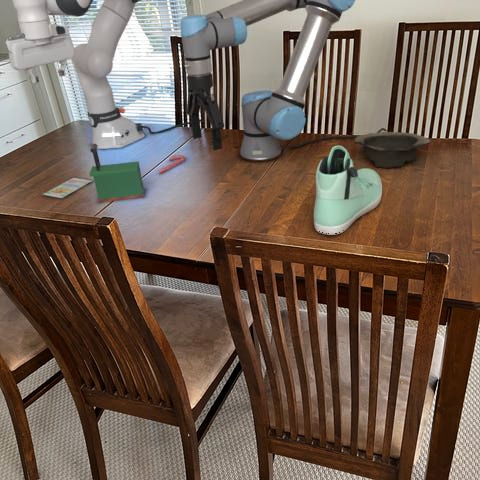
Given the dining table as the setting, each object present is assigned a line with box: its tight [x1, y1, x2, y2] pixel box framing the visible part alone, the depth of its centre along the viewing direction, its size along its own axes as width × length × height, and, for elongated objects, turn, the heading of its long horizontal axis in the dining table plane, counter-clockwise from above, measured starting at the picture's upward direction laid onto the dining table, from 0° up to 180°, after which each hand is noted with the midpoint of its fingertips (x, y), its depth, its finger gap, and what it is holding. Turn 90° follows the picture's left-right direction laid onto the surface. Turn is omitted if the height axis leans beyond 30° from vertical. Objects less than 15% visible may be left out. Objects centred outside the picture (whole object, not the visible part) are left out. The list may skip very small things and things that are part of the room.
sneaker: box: [313, 145, 383, 236], centre depth 133 cm, size 14×35×20 cm, turn 152°
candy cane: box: [158, 154, 186, 174], centre depth 176 cm, size 6×15×2 cm, turn 145°
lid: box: [89, 144, 140, 177], centre depth 150 cm, size 15×6×9 cm, turn 97°
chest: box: [92, 165, 145, 203], centre depth 155 cm, size 14×6×9 cm, turn 97°
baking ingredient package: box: [42, 177, 92, 199], centre depth 165 cm, size 9×1×15 cm
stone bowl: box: [354, 131, 431, 169], centre depth 165 cm, size 25×25×9 cm
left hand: (49, 79), depth 150 cm, fingers open, 8 cm apart
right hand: (207, 143), depth 151 cm, fingers open, 13 cm apart
